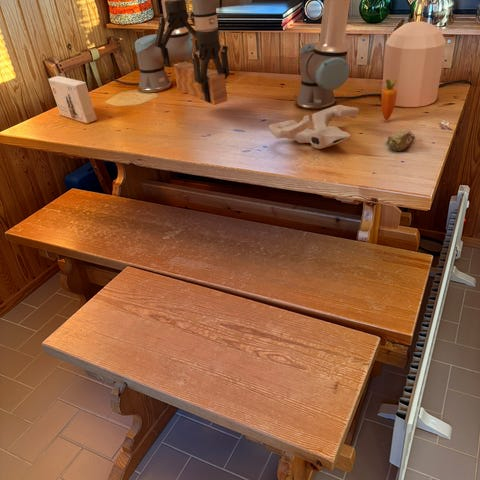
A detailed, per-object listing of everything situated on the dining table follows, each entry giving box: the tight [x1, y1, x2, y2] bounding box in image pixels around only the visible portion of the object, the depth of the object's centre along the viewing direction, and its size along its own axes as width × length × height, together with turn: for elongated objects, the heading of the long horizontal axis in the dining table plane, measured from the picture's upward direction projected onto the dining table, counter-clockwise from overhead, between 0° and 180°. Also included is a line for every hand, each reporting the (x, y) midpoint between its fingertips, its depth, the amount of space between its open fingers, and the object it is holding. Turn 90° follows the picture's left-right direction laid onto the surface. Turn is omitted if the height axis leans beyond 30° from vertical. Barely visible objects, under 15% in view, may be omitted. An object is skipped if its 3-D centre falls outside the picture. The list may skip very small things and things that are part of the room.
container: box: [380, 20, 447, 108], centre depth 175 cm, size 21×21×28 cm
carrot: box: [380, 79, 397, 122], centre depth 161 cm, size 5×5×15 cm
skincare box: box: [47, 75, 98, 124], centre depth 192 cm, size 21×6×16 cm, turn 49°
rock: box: [387, 129, 416, 152], centre depth 146 cm, size 11×6×10 cm
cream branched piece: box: [268, 104, 360, 150], centre depth 153 cm, size 28×26×12 cm
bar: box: [173, 61, 228, 106], centre depth 170 cm, size 28×6×9 cm, turn 34°
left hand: (184, 62), depth 174 cm, fingers open, 13 cm apart
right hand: (215, 99), depth 165 cm, fingers closed on bar, 5 cm apart
